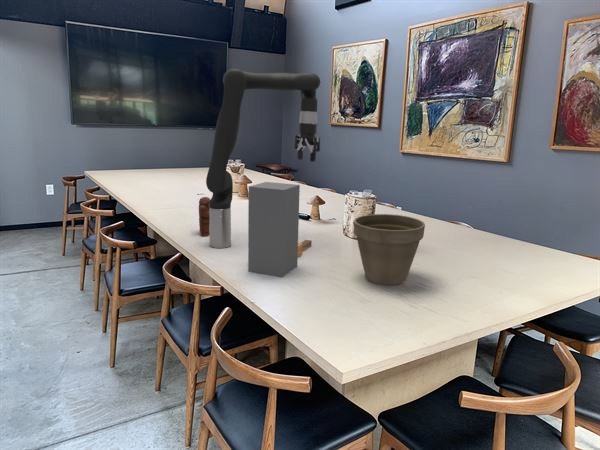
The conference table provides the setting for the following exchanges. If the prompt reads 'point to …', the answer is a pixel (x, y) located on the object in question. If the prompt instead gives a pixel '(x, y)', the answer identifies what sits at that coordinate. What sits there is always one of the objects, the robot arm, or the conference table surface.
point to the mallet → (303, 246)
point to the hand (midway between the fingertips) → (306, 160)
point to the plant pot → (387, 246)
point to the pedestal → (273, 228)
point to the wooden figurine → (204, 216)
